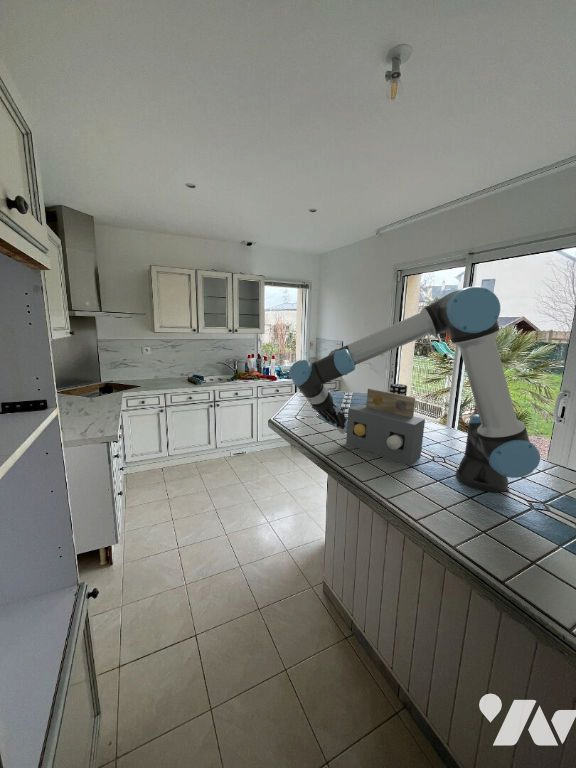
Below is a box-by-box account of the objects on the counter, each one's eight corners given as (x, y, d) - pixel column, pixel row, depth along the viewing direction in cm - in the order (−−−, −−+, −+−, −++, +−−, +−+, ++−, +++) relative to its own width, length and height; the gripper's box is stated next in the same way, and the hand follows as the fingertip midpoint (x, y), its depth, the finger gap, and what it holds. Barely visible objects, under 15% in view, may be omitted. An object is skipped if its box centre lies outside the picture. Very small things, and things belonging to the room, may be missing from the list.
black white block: (404, 421, 167) (408, 385, 163) (401, 426, 160) (405, 387, 156) (389, 418, 171) (392, 383, 167) (384, 422, 164) (388, 385, 160)
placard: (411, 418, 120) (414, 398, 119) (365, 407, 134) (367, 388, 132) (413, 417, 121) (415, 397, 120) (367, 406, 135) (368, 388, 133)
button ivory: (398, 451, 115) (400, 438, 114) (386, 447, 118) (387, 434, 117) (402, 448, 118) (404, 436, 117) (390, 444, 121) (391, 432, 120)
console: (409, 465, 116) (414, 424, 113) (346, 443, 135) (348, 408, 132) (420, 457, 123) (425, 419, 120) (358, 438, 142) (361, 404, 139)
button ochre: (363, 437, 128) (364, 425, 127) (353, 434, 131) (354, 422, 130) (368, 435, 130) (369, 424, 129) (357, 432, 133) (358, 421, 132)
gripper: (298, 401, 109) (325, 434, 124) (329, 409, 100) (354, 444, 115) (309, 384, 111) (334, 419, 127) (339, 390, 103) (362, 427, 118)
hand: (343, 431), depth 121 cm, fingers closed
